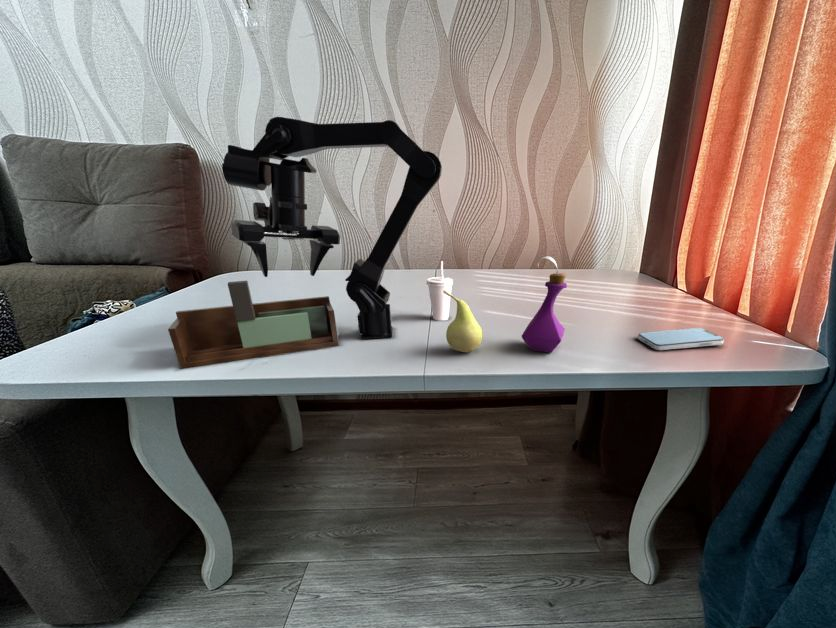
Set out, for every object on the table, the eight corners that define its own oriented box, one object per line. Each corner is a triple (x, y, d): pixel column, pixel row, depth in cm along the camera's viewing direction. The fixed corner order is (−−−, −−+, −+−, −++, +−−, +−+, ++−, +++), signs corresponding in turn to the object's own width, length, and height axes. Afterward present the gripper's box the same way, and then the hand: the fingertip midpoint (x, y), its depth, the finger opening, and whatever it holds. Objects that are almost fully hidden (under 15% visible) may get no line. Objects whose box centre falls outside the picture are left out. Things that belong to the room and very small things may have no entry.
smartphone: (635, 332, 80) (700, 326, 82) (634, 339, 81) (698, 334, 83) (657, 345, 73) (727, 338, 75) (656, 353, 74) (725, 346, 76)
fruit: (479, 359, 70) (480, 296, 66) (440, 356, 72) (438, 294, 67) (484, 346, 76) (485, 287, 72) (448, 343, 78) (447, 286, 73)
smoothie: (450, 323, 90) (449, 263, 85) (424, 321, 91) (422, 262, 86) (456, 315, 96) (455, 259, 91) (432, 313, 97) (430, 258, 92)
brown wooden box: (333, 333, 83) (328, 296, 80) (338, 345, 77) (333, 305, 73) (189, 353, 73) (176, 311, 70) (180, 369, 66) (165, 323, 63)
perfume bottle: (563, 343, 78) (572, 254, 71) (559, 357, 71) (569, 260, 64) (527, 339, 80) (533, 252, 73) (520, 352, 73) (525, 258, 67)
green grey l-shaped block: (311, 340, 77) (301, 276, 72) (312, 342, 75) (301, 277, 70) (244, 349, 72) (228, 281, 67) (244, 352, 71) (227, 283, 66)
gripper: (319, 195, 83) (318, 265, 89) (220, 183, 70) (227, 266, 77) (342, 202, 76) (339, 278, 82) (237, 190, 63) (243, 281, 69)
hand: (289, 275), depth 78 cm, fingers open, 9 cm apart
